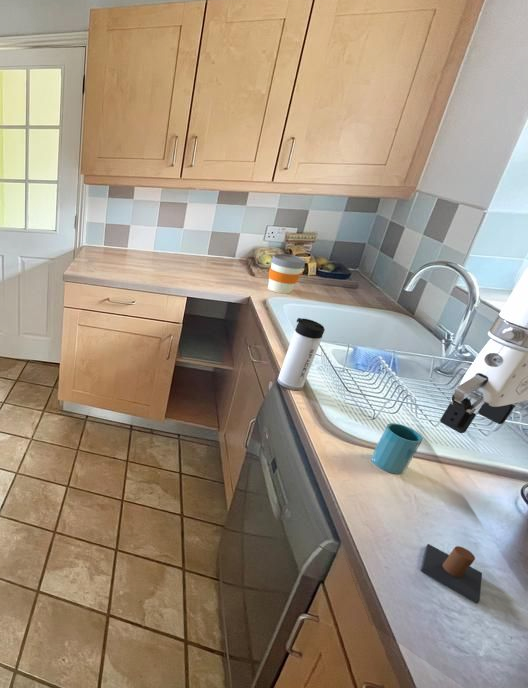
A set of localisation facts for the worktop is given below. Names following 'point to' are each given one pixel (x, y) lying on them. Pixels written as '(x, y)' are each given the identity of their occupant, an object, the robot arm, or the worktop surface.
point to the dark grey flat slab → (453, 570)
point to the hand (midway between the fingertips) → (470, 422)
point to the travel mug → (300, 354)
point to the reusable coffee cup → (284, 272)
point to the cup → (396, 448)
